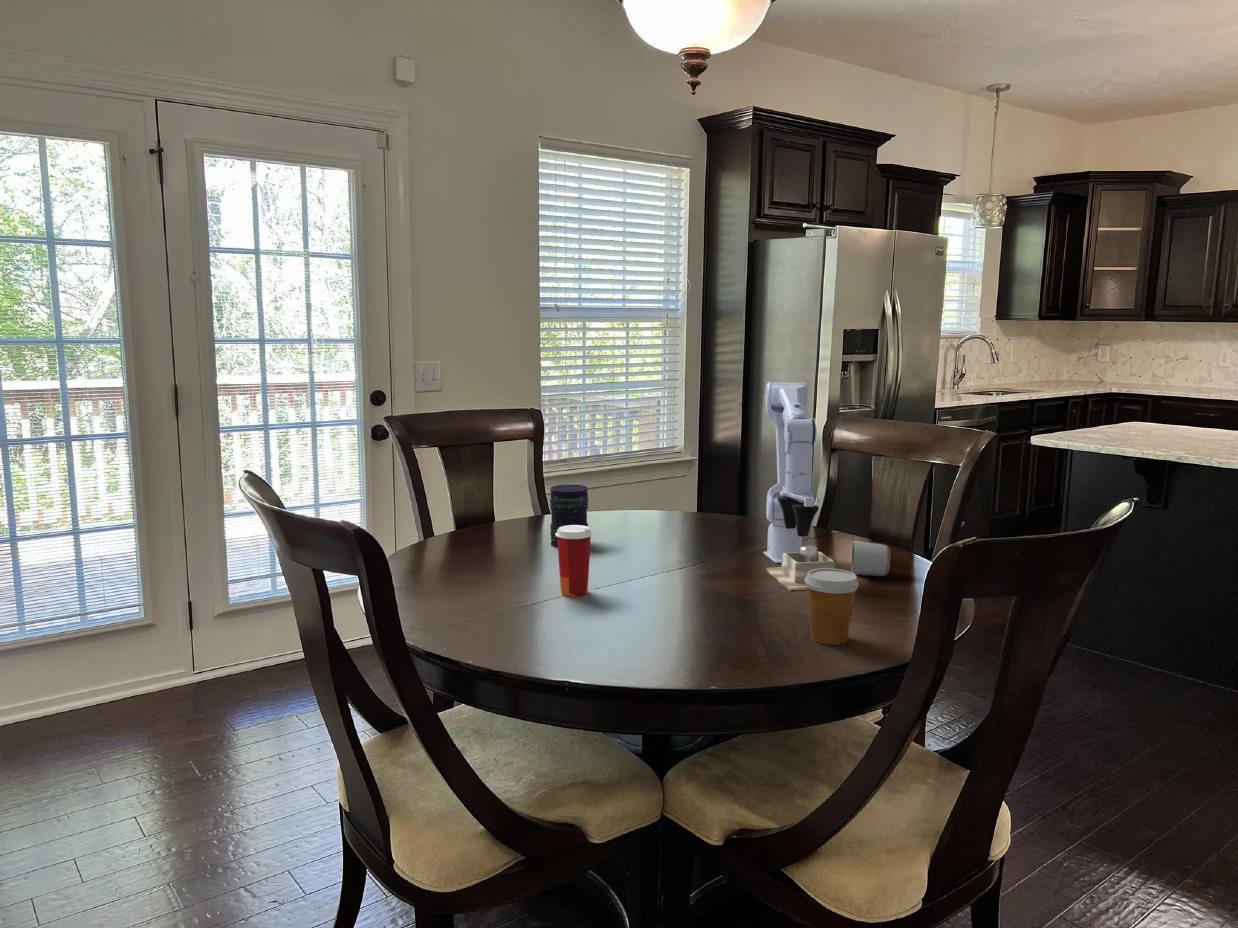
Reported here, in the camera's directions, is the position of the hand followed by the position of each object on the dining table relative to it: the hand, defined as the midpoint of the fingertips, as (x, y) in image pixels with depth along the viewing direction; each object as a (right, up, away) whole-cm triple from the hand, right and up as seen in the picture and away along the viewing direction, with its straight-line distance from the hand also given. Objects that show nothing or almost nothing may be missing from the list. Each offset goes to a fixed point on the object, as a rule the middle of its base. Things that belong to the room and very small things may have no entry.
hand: (796, 532), depth 193 cm
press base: (+2, -11, 0) cm, 11 cm away
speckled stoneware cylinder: (+18, -10, +5) cm, 21 cm away
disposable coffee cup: (-2, -17, -38) cm, 41 cm away
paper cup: (-49, -12, -11) cm, 52 cm away
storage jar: (-53, -6, +31) cm, 61 cm away
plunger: (+2, -11, 0) cm, 11 cm away
